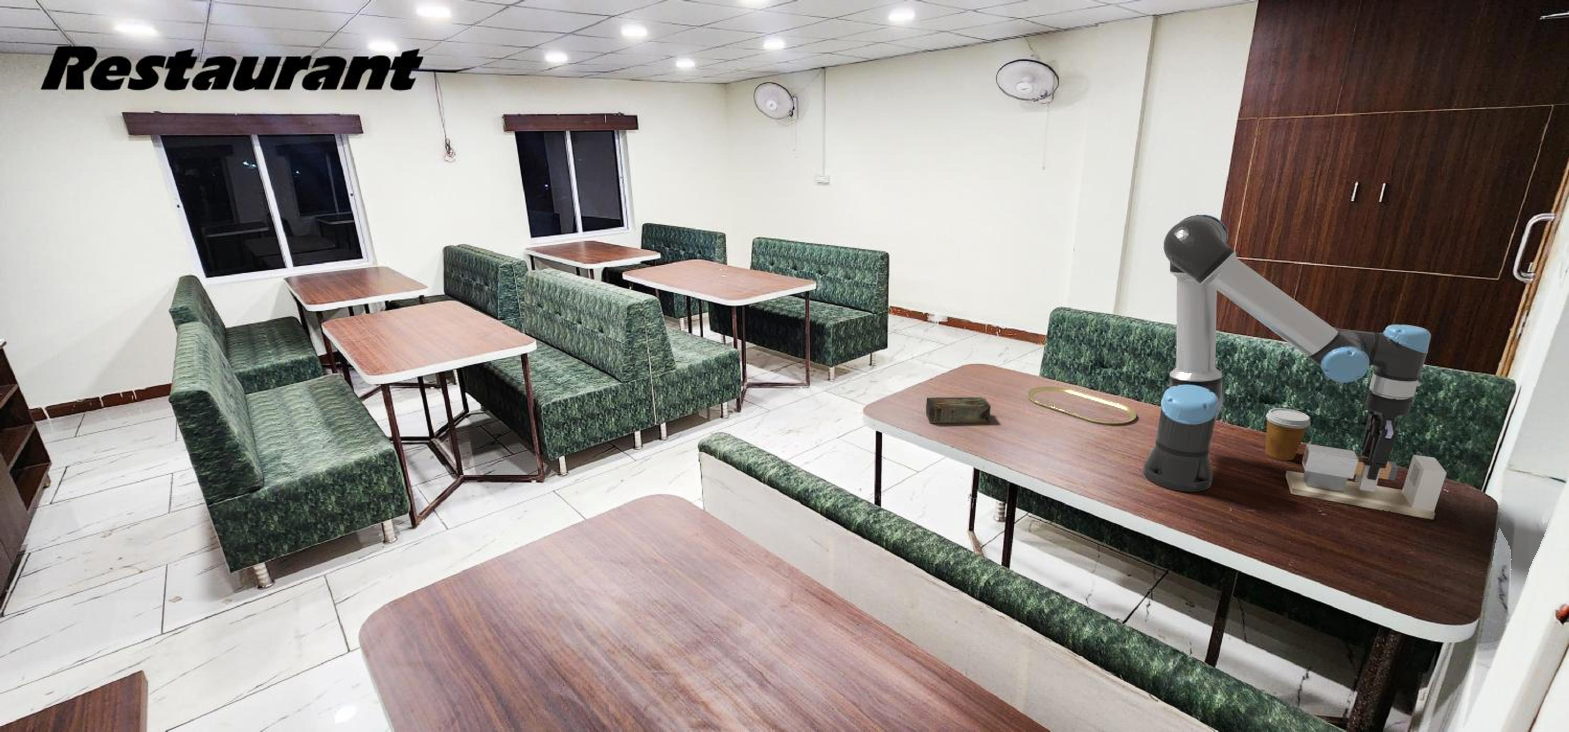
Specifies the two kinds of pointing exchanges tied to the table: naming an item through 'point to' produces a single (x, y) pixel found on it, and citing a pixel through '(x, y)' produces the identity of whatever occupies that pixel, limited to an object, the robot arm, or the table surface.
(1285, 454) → the disposable coffee cup
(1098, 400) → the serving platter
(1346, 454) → the sleeve
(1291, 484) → the bench board
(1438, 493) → the socket block
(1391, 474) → the brown wooden bar
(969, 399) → the beverage carton
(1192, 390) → the robot arm
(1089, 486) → the table surface
